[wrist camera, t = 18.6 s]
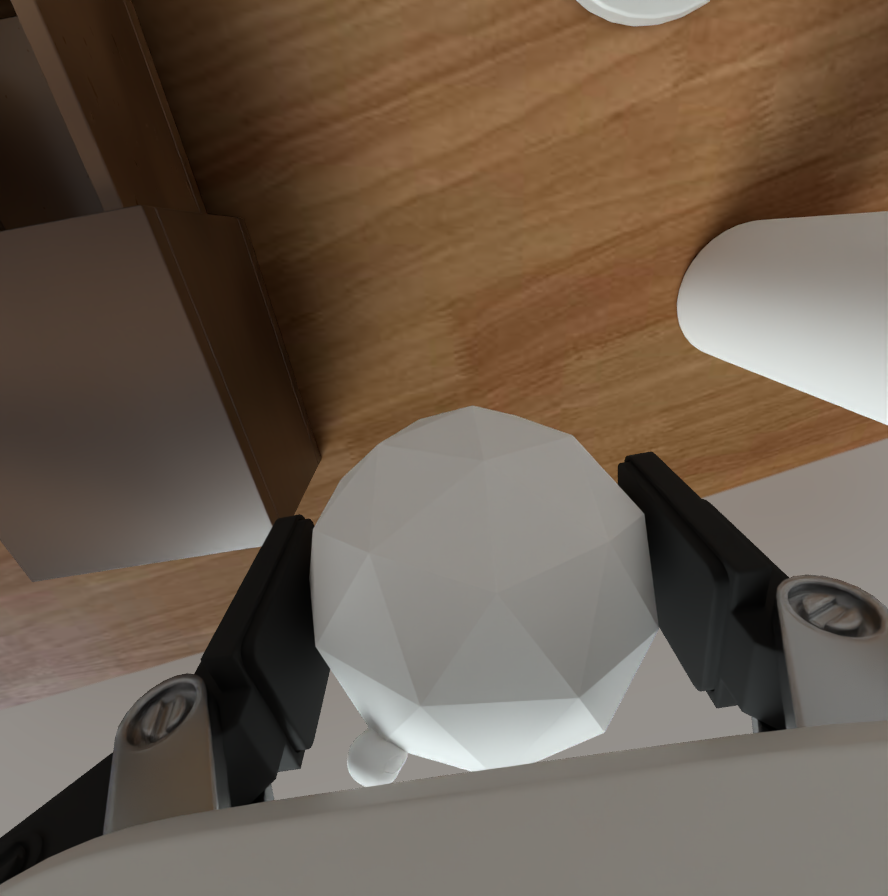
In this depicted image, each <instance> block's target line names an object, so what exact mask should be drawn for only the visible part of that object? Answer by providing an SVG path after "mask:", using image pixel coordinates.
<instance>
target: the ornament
mask: <svg viewBox="0 0 888 896" xmlns="http://www.w3.org/2000/svg"><path fill="white" fill-rule="evenodd" d="M309 580H310V592H311V603H312V614H313V625H314V636H315V647H316V648H317V650H318V651H319V653H320V654H321V656H322V657H323V659H324V660H325V662H326V663H327V665H328V666H329V668H330V669H331V671H332V672H333V674H334V675H335V677H336V678H337V680H338V681H339V683H340V684H341V686H342V687H343V689H344V690H345V692H346V694H347V695H348V696H349V698H350V700H351V701H352V703H353V704H354V705H355V707H356V709H357V710H358V712H359V713H360V715H361V716H362V718H363V719H364V721H365V722H366V724H367V725H368V727H369V728H367V730H365V731H364V732H363V733H362V734H361V735H359V736H358V737H357V738H356V739H355V740H354V741H353V743H352V745H351V747H350V749H349V752H348V758H347V767H348V770H349V773H350V775H351V776H352V777H353V778H354V780H355V781H357V782H358V783H359V784H361V785H363V786H365V787H369V786H376V785H383V784H389V783H392V782H393V781H394V780H395V778H396V777H397V775H398V773H399V771H400V769H401V768H402V766H403V765H404V763H405V762H406V760H407V756H408V753H411V754H414V755H417V756H421V757H424V758H428V759H432V760H435V761H438V762H442V763H445V764H448V765H452V766H455V767H458V768H462V769H465V770H469V771H472V772H473V771H480V770H487V769H494V768H501V767H509V766H516V765H523V764H530V763H535V762H537V761H539V760H542V759H544V758H546V757H549V756H551V755H553V754H556V753H558V752H560V751H563V750H565V749H567V748H570V747H572V746H574V745H577V744H579V743H581V742H584V741H586V740H588V739H591V738H593V737H595V736H598V735H600V734H602V733H605V731H606V729H607V727H608V725H609V723H610V722H611V720H612V717H613V716H614V714H615V712H616V710H617V708H618V706H619V704H620V702H621V700H622V699H623V697H624V695H625V693H626V691H627V689H628V687H629V685H630V683H631V681H632V679H633V677H634V676H635V674H636V672H637V670H638V668H639V666H640V664H641V662H642V660H643V658H644V656H645V654H646V653H647V651H648V649H649V647H650V645H651V643H652V641H653V639H654V637H655V635H656V633H657V631H658V630H659V625H658V617H657V610H656V602H655V594H654V586H653V578H652V570H651V562H650V554H649V547H648V539H647V531H646V523H645V515H644V513H643V512H642V511H641V510H640V509H639V507H638V506H637V505H636V504H635V503H634V502H633V501H632V500H631V499H630V498H629V496H628V495H627V494H626V493H625V492H624V491H623V490H622V489H621V488H620V487H619V486H618V484H617V483H616V482H615V481H614V480H613V479H612V478H611V477H610V476H609V475H608V474H607V472H606V471H605V470H604V469H603V468H602V467H601V466H600V465H599V464H598V463H597V461H596V460H595V459H594V458H593V457H592V456H591V455H590V454H589V453H588V452H587V451H586V449H585V448H584V447H583V446H582V445H581V444H580V443H579V442H578V441H577V440H576V438H575V437H574V436H573V435H570V434H567V433H564V432H561V431H558V430H556V429H553V428H550V427H547V426H544V425H541V424H538V423H535V422H533V421H530V420H527V419H524V418H521V417H518V416H515V415H511V414H507V413H503V412H498V411H494V410H489V409H485V408H480V407H476V406H469V407H465V408H461V409H457V410H454V411H450V412H446V413H442V414H438V415H434V416H430V417H427V418H423V419H419V420H417V421H416V422H414V423H412V424H411V425H409V426H407V427H406V428H404V429H402V430H401V431H399V432H398V433H396V434H394V435H393V436H391V437H389V438H388V439H386V440H384V441H383V442H381V443H379V444H378V445H377V446H376V447H375V448H374V449H373V450H372V451H370V452H369V453H368V454H367V455H366V456H365V457H364V458H363V459H362V460H361V461H360V462H359V463H358V464H357V465H356V466H355V467H354V468H352V469H351V470H350V471H349V472H348V473H347V474H346V475H345V476H344V477H343V478H342V479H341V480H340V482H339V484H338V486H337V487H336V489H335V491H334V493H333V495H332V496H331V498H330V500H329V502H328V503H327V505H326V507H325V509H324V511H323V512H322V514H321V516H320V518H319V520H318V521H317V523H316V525H315V527H314V528H313V534H312V548H311V562H310V575H309Z"/></svg>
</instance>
